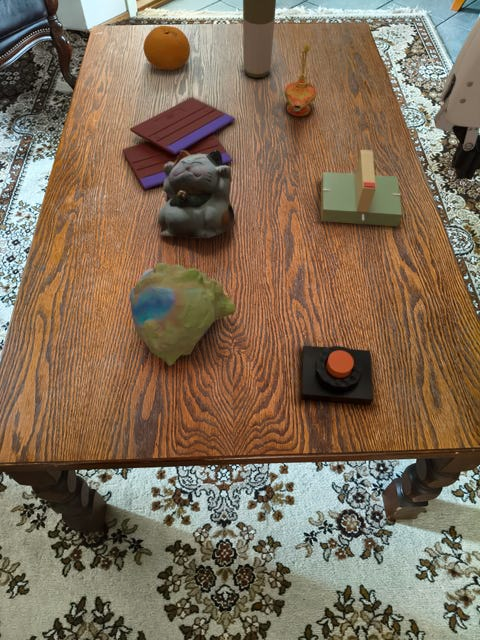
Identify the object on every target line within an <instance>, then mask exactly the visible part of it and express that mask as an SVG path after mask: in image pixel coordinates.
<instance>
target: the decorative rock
mask: <svg viewBox="0 0 480 640" xmlns="http://www.w3.org/2000/svg"><path fill="white" fill-rule="evenodd" d="M129 302H130V310H131V316H132V320H133V325H134V329H135V332H136V335H137V336H138V339H139V340H140V341H141V342H145V344H146V345H147V348H148V349H149V351H150V352H151V353H152V354H153V355H154V356H156V357H157V358H161V359H162V360H164V361H165V363H166V365H167V366H173V365H174V364H175V363H176V361H177V360H178V359H179V358H180V357H181V356H188V355H191V354H192V352H193V350H194V348H195V346H196V345H197V344H198V342H199V341H201V339H202V337H203V336H204V335H205V334H206V333H207V332H208V331H209V329H210V327H211V326H212V324H214V323H215V322H216V321H217V320H218V319H222V318H225V317H228V316H231V315H234V314H235V312H236V311H237V309H236V308H237V307H236V306H235V304H234V302H233V300H230V299H229V298H228V295H227V294H225V292H224V288H223V286H222V283H221V282H220V281H218V280H215V278H211V279H209V277H208V275H207V273H205V272H201V270H200V269H197V268H195V267H192V268H186V267H184V266H182V265H181V264H179V263H178V264H175V265H170V264H169V263H167V262H158V263H156V264H155V265H154V267H153V268H151V269H150V268H148V269H146V270H144V271H143V273H142V274H141V276H140V277H139V279H138V281H137V283H135V285H134V286H133V288H132V290H131V292H130V295H129Z"/></svg>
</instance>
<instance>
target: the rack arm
mask: <svg viewBox="0 0 480 640" xmlns="http://www.w3.org/2000/svg"><path fill="white" fill-rule="evenodd" d="M374 160H375V159H374V151H373V150H372V149H370V150H369V149H360V150H359V154H358V158H357V161H356V166H355V169H354V174H355V191H356V210H357V211H361V212H369V210H370V206H371V203H372V200H373V197H374V193H375V190H376V184H375V175H376V174H375V161H374Z"/></svg>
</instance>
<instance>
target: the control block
mask: <svg viewBox="0 0 480 640" xmlns="http://www.w3.org/2000/svg"><path fill="white" fill-rule="evenodd" d="M339 350H341V351H345V352H347V353H349V354H350V355H351V356H352V358H353V361H354V365H353V368H352V370H351V373H350V374H349V375H348V376H347V377H345V378H336V377H333V376H332V375H331V374H330V373H329V372H328V371H327V368H326V364H327V361H328V358H329V355H330V354H331V353H332V352H334V351H339ZM371 356H372V355H371V350H367V349H355V348H348V347H346V346H341V345H339V346H337V345H331V346H329V347H328V346H316V345H315V346H314V345H302V349H301V365H300V366H301V371H300V401H304V402H305V401H307V402H317V403H318V402H319V403H331V404H343V405H354V406H355V405H356V406H367V407H370V406H371V405H372V403H373V401H374V390H373V388H374V387H373V374H372V358H371Z"/></svg>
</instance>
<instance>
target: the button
mask: <svg viewBox="0 0 480 640" xmlns="http://www.w3.org/2000/svg"><path fill="white" fill-rule="evenodd" d="M353 365H354V361H353V358H352V356H351V355H350V354H349V353H347V352H345V351H341V350H339V351H334V352H332V353H331V354H330V355H329V358H328V361H327V364H326V368H327V371H328V372H329V373H330V374H331V375H332V376H333V377H336V378H345V377H347V376H348V375H349V374H350V373H351V370H352V368H353Z"/></svg>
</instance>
